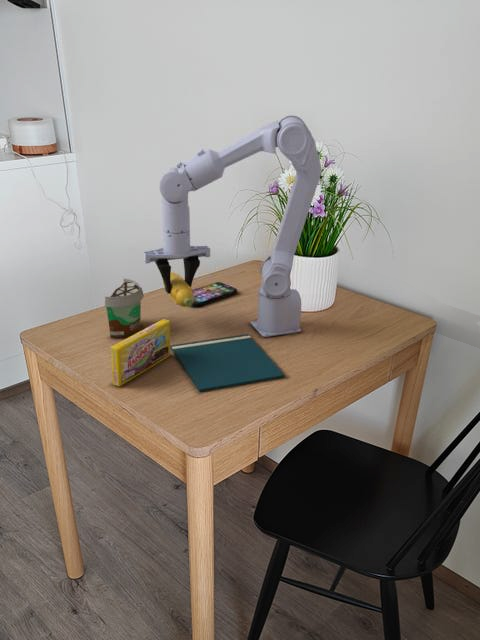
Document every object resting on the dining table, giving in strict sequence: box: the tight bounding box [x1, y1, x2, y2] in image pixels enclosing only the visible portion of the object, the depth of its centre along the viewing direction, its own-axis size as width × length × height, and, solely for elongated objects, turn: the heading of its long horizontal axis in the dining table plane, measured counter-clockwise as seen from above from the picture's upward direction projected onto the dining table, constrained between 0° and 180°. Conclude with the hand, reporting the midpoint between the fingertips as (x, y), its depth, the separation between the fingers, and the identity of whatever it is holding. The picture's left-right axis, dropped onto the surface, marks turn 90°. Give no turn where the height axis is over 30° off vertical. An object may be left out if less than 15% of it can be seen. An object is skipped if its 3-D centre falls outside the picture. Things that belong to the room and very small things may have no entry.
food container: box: [104, 278, 144, 339], centre depth 140 cm, size 12×6×10 cm, turn 168°
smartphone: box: [191, 281, 238, 308], centre depth 161 cm, size 8×1×15 cm
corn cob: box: [162, 271, 194, 308], centre depth 140 cm, size 4×15×4 cm, turn 21°
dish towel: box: [170, 333, 286, 393], centre depth 131 cm, size 18×20×1 cm
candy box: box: [110, 318, 171, 388], centre depth 125 cm, size 16×2×8 cm, turn 148°
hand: (178, 290), depth 141 cm, fingers closed on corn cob, 4 cm apart
